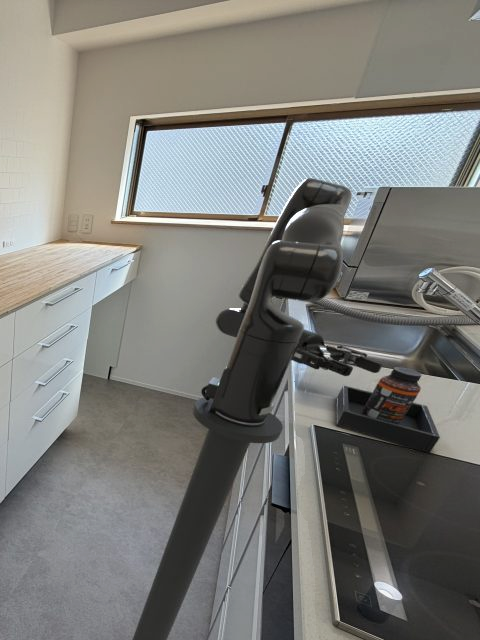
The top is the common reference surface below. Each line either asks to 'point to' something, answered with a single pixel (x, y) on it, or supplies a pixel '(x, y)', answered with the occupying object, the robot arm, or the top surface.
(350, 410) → the bin
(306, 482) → the top surface
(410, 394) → the supplement bottle
